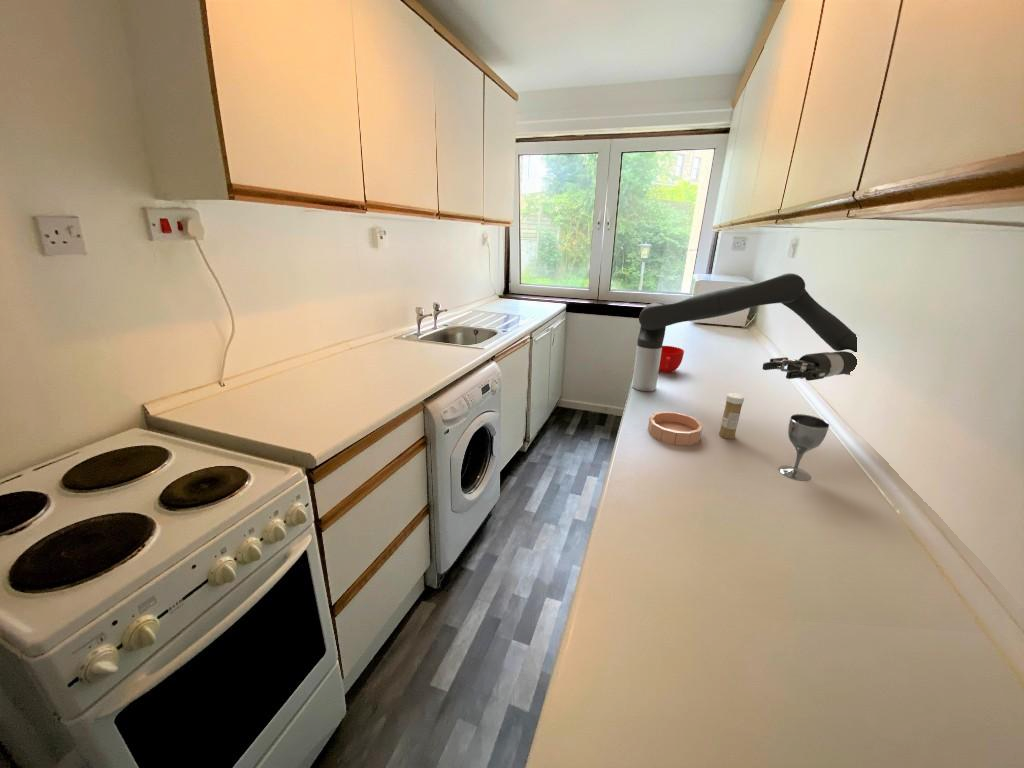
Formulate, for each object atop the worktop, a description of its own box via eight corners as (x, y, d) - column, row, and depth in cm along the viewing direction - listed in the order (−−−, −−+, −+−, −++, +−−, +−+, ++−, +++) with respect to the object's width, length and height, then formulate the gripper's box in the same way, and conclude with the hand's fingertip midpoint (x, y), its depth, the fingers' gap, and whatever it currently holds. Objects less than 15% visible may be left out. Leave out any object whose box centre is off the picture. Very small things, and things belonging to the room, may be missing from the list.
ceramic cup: (649, 376, 178) (652, 354, 175) (650, 365, 194) (653, 344, 190) (681, 380, 175) (685, 357, 171) (679, 368, 190) (683, 347, 186)
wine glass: (795, 483, 103) (811, 429, 98) (769, 467, 111) (783, 415, 105) (820, 479, 105) (837, 426, 100) (793, 463, 113) (807, 412, 107)
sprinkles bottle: (717, 431, 130) (725, 391, 125) (733, 433, 129) (742, 393, 124) (720, 438, 126) (728, 397, 121) (736, 440, 125) (746, 399, 120)
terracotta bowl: (643, 422, 136) (645, 410, 134) (690, 423, 135) (692, 412, 133) (655, 444, 122) (657, 431, 120) (707, 446, 121) (710, 434, 119)
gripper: (802, 347, 130) (758, 352, 127) (846, 359, 117) (798, 365, 114) (797, 370, 133) (754, 375, 129) (840, 384, 120) (793, 391, 116)
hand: (775, 370), depth 121 cm, fingers open, 8 cm apart
